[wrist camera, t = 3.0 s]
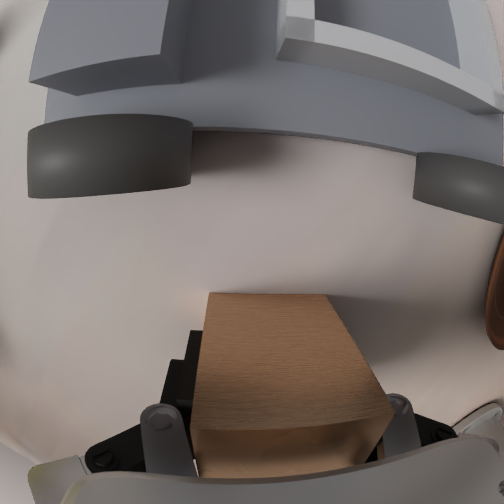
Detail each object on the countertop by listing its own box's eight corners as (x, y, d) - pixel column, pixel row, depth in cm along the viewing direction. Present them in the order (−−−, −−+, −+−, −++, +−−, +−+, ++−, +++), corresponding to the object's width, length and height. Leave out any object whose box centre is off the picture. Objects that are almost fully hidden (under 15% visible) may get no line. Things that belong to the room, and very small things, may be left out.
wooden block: (324, 294, 12) (395, 411, 6) (307, 378, 14) (343, 491, 7) (209, 292, 12) (189, 428, 5) (211, 379, 14) (204, 502, 7)
